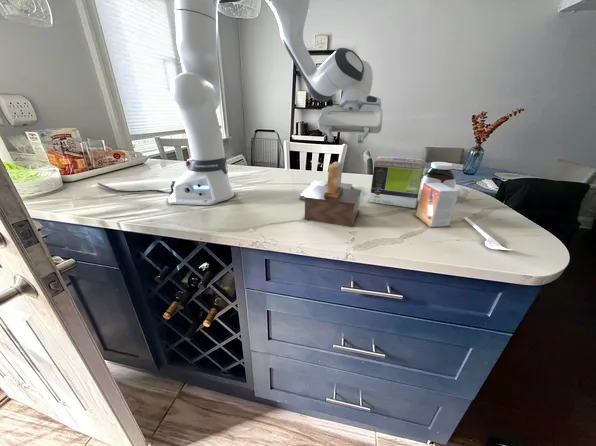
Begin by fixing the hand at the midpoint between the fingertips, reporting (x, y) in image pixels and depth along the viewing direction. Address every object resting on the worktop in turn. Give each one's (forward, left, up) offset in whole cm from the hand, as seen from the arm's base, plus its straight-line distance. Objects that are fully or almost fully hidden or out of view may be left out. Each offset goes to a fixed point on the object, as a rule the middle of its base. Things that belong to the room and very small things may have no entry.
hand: (344, 141), depth 75 cm
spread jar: (+40, +7, -21) cm, 46 cm away
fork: (+31, -26, -21) cm, 46 cm away
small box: (+23, -17, -21) cm, 35 cm away
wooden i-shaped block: (-5, -10, -14) cm, 17 cm away
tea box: (+19, 0, -21) cm, 28 cm away
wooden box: (-5, -10, -21) cm, 23 cm away
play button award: (-2, +11, -21) cm, 24 cm away
